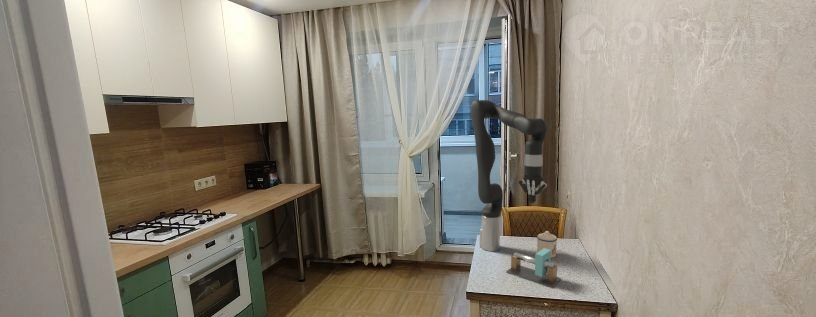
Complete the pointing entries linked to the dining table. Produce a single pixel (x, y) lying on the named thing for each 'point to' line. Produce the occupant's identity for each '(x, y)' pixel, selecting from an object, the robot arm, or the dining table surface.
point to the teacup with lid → (547, 242)
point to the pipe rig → (529, 274)
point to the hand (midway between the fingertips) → (532, 202)
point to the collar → (542, 261)
